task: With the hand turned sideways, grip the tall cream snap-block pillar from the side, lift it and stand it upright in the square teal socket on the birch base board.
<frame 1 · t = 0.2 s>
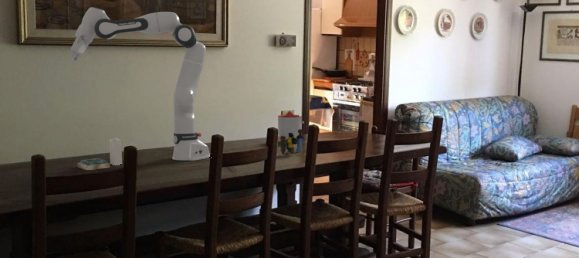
hand: (72, 60, 312), 53 cm above the table, tool tilted 25°, fingers open, 8 cm apart
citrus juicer: (291, 142, 392), on the table
doll family: (292, 153, 345), on the table
birch base board: (93, 167, 304), on the table
cream pillar: (116, 164, 312), on the table
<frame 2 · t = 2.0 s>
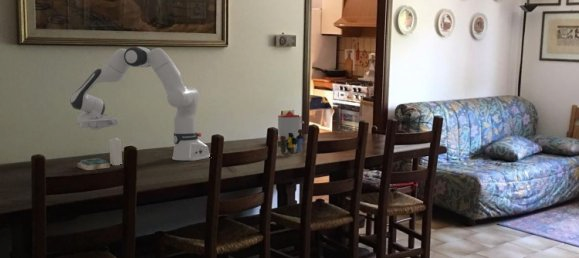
hand: (104, 123, 319), 20 cm above the table, tool horizontal, fingers open, 8 cm apart
nothing on the table moved.
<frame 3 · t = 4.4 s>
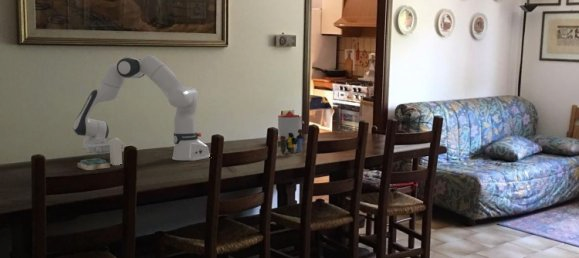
hand: (110, 148, 316), 7 cm above the table, tool horizontal, fingers open, 8 cm apart
nothing on the table moved.
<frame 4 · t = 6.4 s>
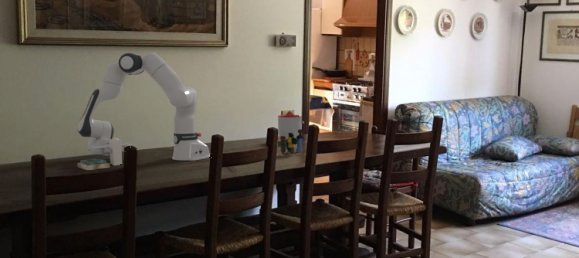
hand: (116, 150, 310), 8 cm above the table, tool horizontal, fingers closed on cream pillar, 4 cm apart
cream pillar: (116, 164, 312), on the table, touching gripper
everything else where it was.
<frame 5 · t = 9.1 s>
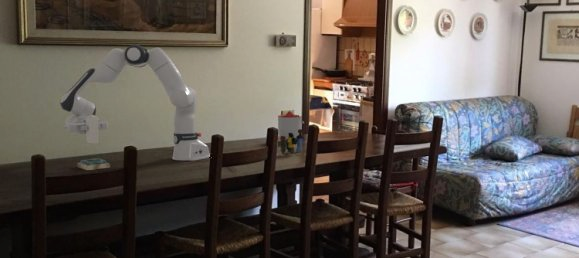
hand: (93, 127, 302), 20 cm above the table, tool horizontal, fingers closed on cream pillar, 4 cm apart
cream pillar: (92, 142, 303), point 12 cm above the table, touching gripper
everything else where it was.
when the fingers open (10 cm above the table, at t = 11.7 s): cream pillar stays where it is, resting on birch base board.
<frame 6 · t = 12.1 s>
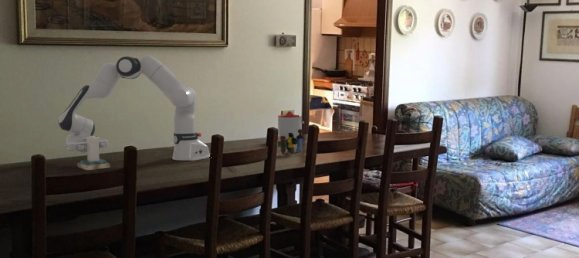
hand: (93, 146, 302), 10 cm above the table, tool horizontal, fingers open, 8 cm apart
cream pillar: (93, 163, 304), point 2 cm above the table, touching birch base board
everything else where it was.
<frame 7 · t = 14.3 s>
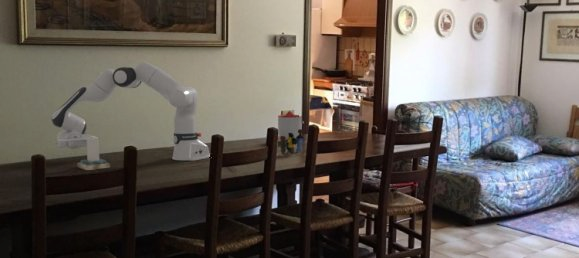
hand: (83, 143, 313), 11 cm above the table, tool horizontal, fingers open, 8 cm apart
nothing on the table moved.
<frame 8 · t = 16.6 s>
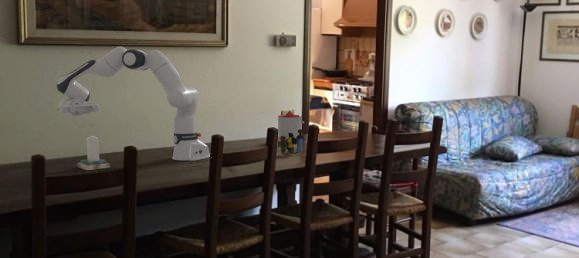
hand: (84, 109, 315), 28 cm above the table, tool horizontal, fingers open, 8 cm apart
nothing on the table moved.
at the end: cream pillar 0.1 cm off-centre on the birch base board, point 2.0 cm above the birch base board's base; cream pillar tilted 0°; the gripper is holding nothing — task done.
